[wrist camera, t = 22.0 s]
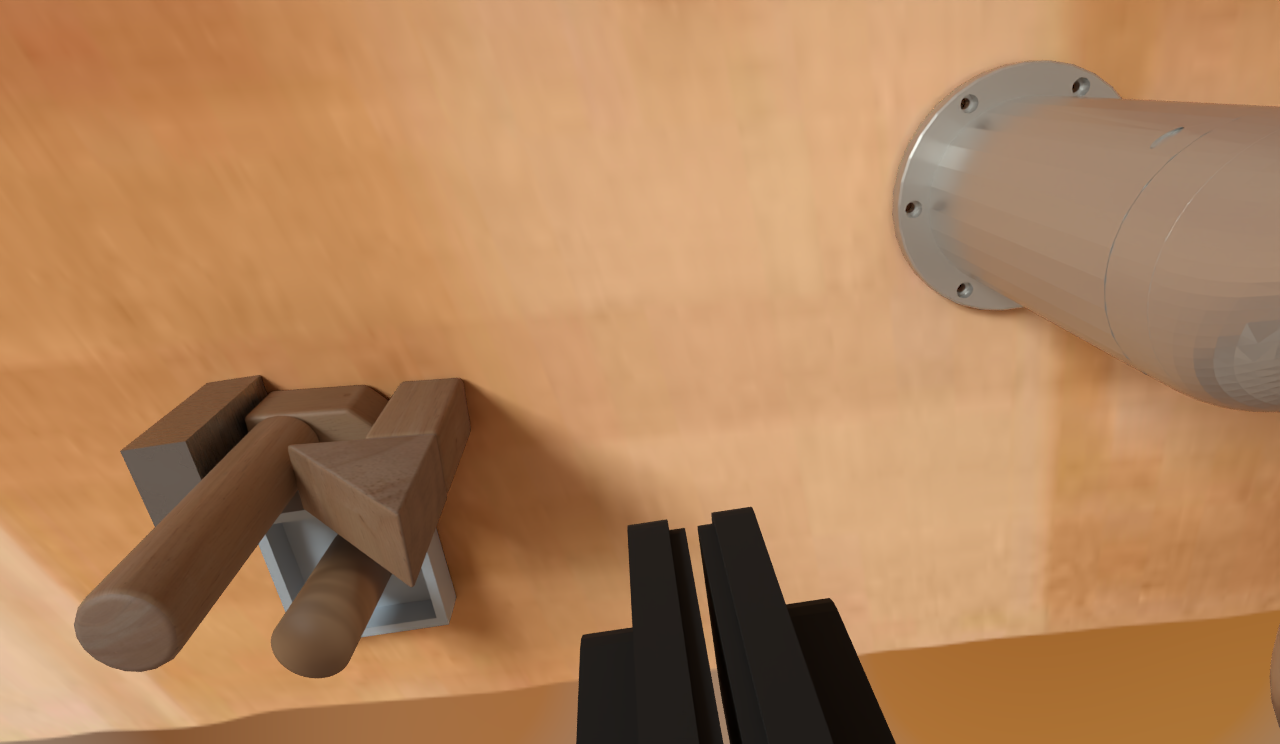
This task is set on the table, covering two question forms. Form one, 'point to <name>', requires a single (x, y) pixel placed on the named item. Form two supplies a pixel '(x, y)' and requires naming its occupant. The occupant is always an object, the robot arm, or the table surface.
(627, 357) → the table surface
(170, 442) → the rectangular block
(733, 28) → the table surface
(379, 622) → the tray
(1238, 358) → the robot arm
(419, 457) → the wooden blocks
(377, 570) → the dowel
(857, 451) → the table surface
